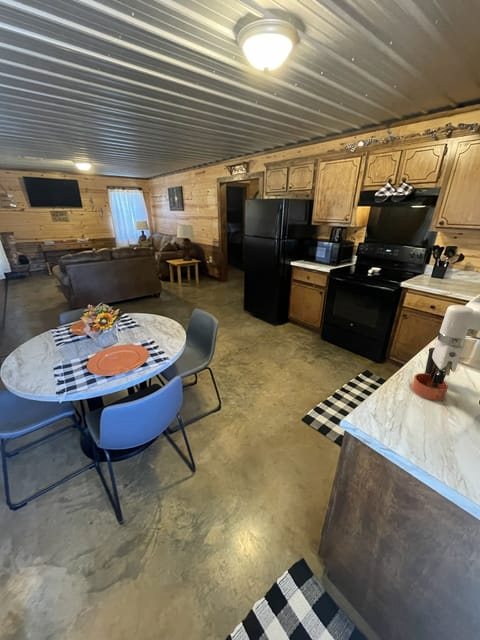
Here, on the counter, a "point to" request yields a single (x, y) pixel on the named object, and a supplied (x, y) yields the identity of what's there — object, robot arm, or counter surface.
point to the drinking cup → (430, 362)
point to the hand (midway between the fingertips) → (436, 380)
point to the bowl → (425, 391)
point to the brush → (434, 385)
